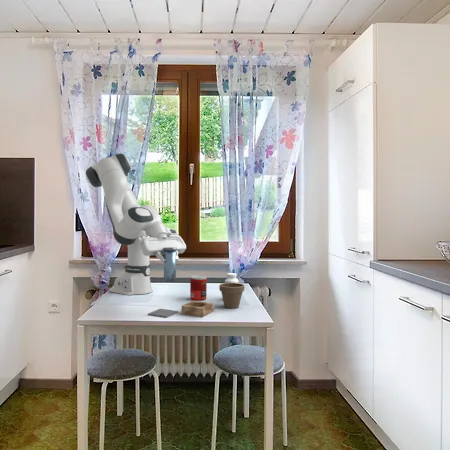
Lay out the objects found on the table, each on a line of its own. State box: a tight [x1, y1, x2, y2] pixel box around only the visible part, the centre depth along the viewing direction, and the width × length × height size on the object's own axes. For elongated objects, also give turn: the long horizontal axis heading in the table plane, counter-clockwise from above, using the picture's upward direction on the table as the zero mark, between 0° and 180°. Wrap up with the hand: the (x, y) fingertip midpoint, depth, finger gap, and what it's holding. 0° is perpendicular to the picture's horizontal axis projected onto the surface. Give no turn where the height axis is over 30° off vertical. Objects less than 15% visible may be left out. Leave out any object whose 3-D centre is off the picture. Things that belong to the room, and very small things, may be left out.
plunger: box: [163, 247, 177, 283], centre depth 166 cm, size 6×6×14 cm
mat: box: [147, 308, 179, 319], centre depth 167 cm, size 9×9×1 cm
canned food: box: [189, 275, 208, 302], centre depth 194 cm, size 8×8×11 cm
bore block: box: [181, 300, 214, 318], centre depth 169 cm, size 10×10×4 cm
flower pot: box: [218, 282, 246, 309], centre depth 180 cm, size 12×11×10 cm
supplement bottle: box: [224, 272, 240, 284], centre depth 193 cm, size 7×7×13 cm
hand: (170, 260), depth 166 cm, fingers closed on plunger, 5 cm apart
